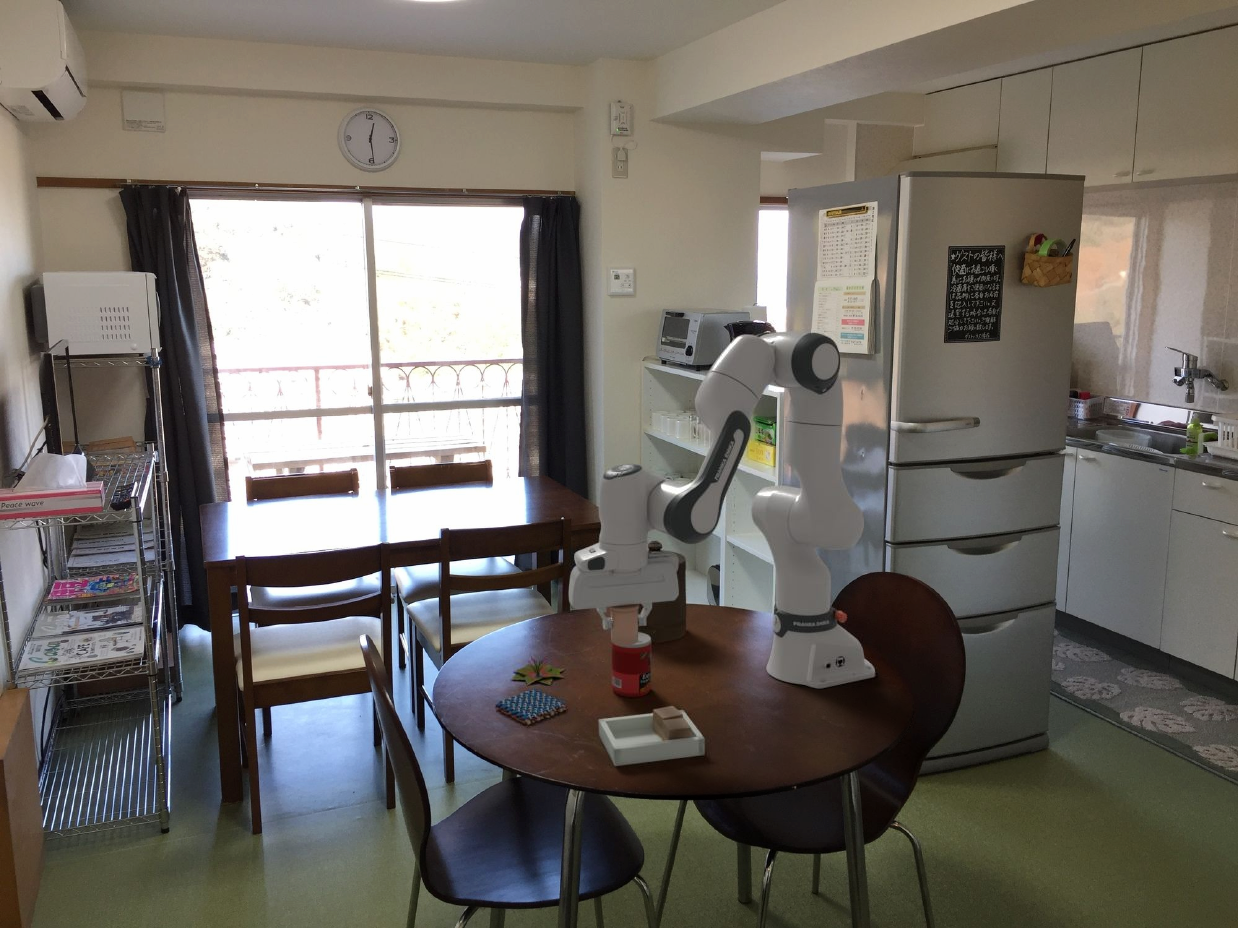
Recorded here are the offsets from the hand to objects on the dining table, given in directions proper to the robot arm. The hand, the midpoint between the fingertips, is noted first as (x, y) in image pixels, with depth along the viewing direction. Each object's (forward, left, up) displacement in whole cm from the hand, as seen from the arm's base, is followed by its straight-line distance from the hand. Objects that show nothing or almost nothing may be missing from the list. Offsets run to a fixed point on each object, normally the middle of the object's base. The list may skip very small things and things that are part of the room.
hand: (624, 626), depth 177 cm
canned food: (-5, -13, -18) cm, 23 cm away
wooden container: (-19, -44, -19) cm, 51 cm away
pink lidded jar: (0, 0, -3) cm, 3 cm away
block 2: (-6, +14, -18) cm, 23 cm away
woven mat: (+16, -9, -19) cm, 26 cm away
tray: (-2, +11, -18) cm, 21 cm away
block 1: (-6, +9, -18) cm, 20 cm away
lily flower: (+12, -25, -19) cm, 34 cm away
